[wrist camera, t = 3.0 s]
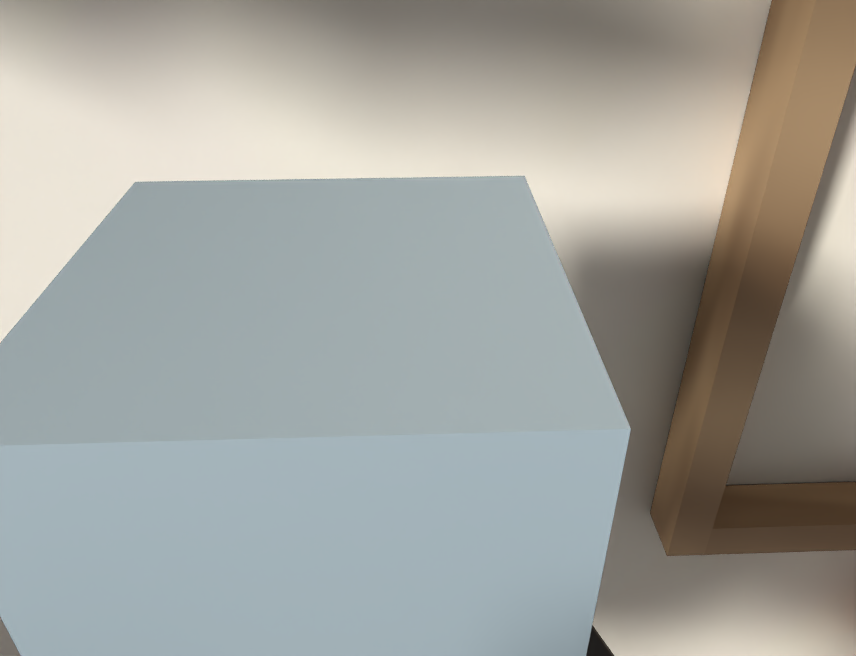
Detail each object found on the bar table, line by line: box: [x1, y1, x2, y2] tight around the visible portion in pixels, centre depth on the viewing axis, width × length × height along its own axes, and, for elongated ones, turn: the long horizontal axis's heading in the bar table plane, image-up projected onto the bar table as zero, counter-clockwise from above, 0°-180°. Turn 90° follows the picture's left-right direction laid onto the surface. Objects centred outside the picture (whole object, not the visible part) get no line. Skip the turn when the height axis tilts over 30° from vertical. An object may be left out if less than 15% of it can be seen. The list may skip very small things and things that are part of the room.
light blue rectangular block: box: [0, 176, 631, 656], centre depth 8 cm, size 10×4×4 cm, turn 0°
